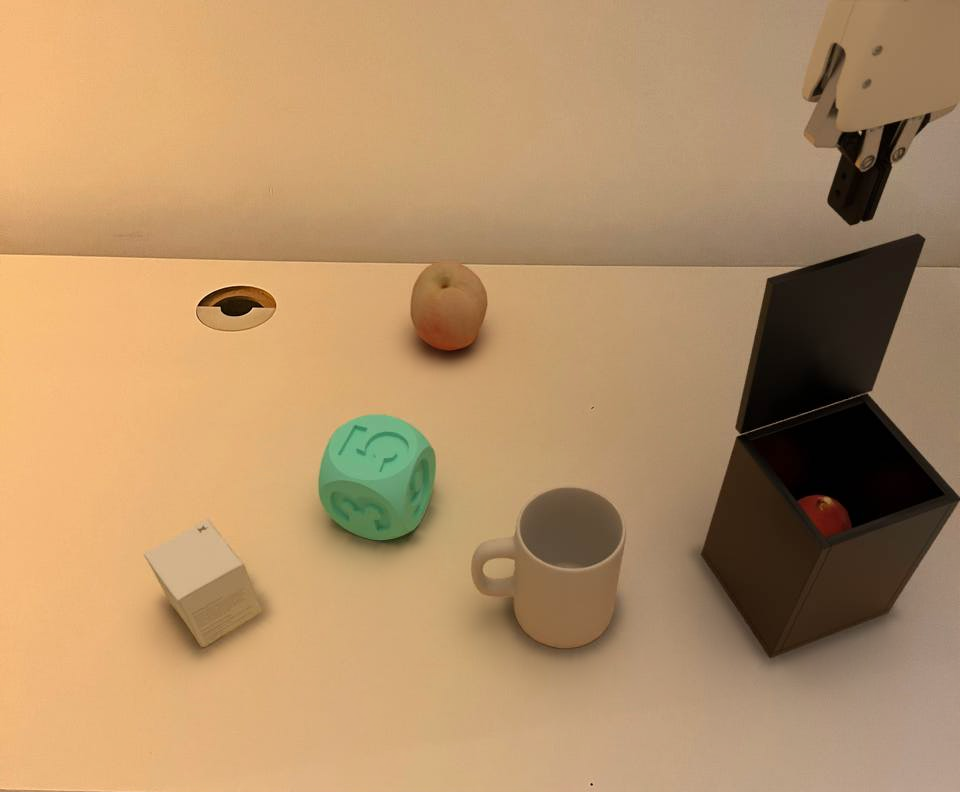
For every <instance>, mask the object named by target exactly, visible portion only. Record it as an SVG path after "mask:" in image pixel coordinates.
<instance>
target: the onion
mask: <svg viewBox="0 0 960 792" xmlns="http://www.w3.org/2000/svg"><path fill="white" fill-rule="evenodd" d="M797 502H798V503H799V504H800V506H801V507H802V508H803V510H804V511H805V512H806V514H807V515H808V516H809V518H810V519H811V520H812V521H813V523H814V524H815V525H816V527H817V528H818V529H819V531H820V532H821V533H822V535H823V536H824V537H825V538H826V537H829V536H832V535H835V534H837V533H840V532H843V531H846V530H849V529H851V528H852V524H851V521H850V518H849V515H848V512H847V510H846V509H845V508H844V507H843V506H842V505H841V504H840V503H839V502H838V501H837V500H835V499H833V498H830V497H828V496H823V495H812V496H806V497H804V498H802V499H800V500H798V501H797Z"/></svg>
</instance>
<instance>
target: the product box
mask: <svg viewBox="0 0 960 792" xmlns="http://www.w3.org/2000/svg"><path fill="white" fill-rule="evenodd" d="M143 556H144V559H145V560H146V561H147V563H148V565H149V567H150V568H151V570H152V572H153V574H154V576H155V577H156V579H157V581H158V584H159V585H160V587H161V589H162V590H163V593H164V595H165V596H166V598H167V600H168V602H169V604H170V605H171V606H172V608H173V609H174V610H175V611H176V612H177V614H178V615H179V616H180V618H181V619H182V621H183V622H184V623H185V625H186V626H187V627H188V629H189V630H190V632H191V633H192V635H193V637H194V639H195V641H197V643H198V645H199V646H200V648H206V647H207V646H210V645H211V644H212V643H214V642H216V641H217V640H219V639H221V638H222V637H224V636H225V635H227V634H228V633H230V632H232V631H233V630H235V629H236V628H238V627H240V626H242V625H243V624H245V623H247V622H248V621H250V620H251V619H254V618H255V617H256V616H258V615H260V614H262V612H263V608H262V607H261V605H260V602H259V600H258V597H257V595H256V592H255V589H254V587H253V585H252V582H251V578H250V575H249V573H248V571H247V568H246V565H245V564H244V562H243V561H242V560H241V558H240V557H239V556H238V555H237V553H236V552H235V551H234V550H233V548H232V547H231V546H230V545H229V543H228V542H227V540H226V539H225V537H223V536H222V534H221V533H220V532H219V530H218V529H217V528H216V527H215V525H214V524H213V523H212V521H211V520H210V519H209V518H205V519H203V520H202V521H200V522H198V523H196V524H195V525H193V526H191V527H189V528H187V529H185V530H184V531H182V532H180V533H179V534H177V535H174V536H173V537H172V538H170V539H168V540H166V541H164V542H162V543H160V544H158V545H157V546H155V547H153V548H151V549H150V550H148V551H146V552H144V553H143Z"/></svg>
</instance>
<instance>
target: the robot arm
mask: <svg viewBox="0 0 960 792" xmlns="http://www.w3.org/2000/svg"><path fill="white" fill-rule="evenodd" d="M828 1H829V2H828V4H827V7H826V8H825V9H826V10H825V12H824V15H823V18H822V21H821V24H820V27H819V30H818V33H817V36H816V39H815V42H814V44H813V47H812V51H811V54H810V58H809V61H808V64H807V68H806V71H805V74H804V75H805V76H804V79H803V82H802V89H801V97H802V98H803V99H804V100H805V101H806V102H808V103H816V105H815V107H814V109H813V111H812V114H811V115H810V117H809V120H808V122H807V124H806V126H805V128H804V131H803V137H804V138H805V139H806V140H807V141H808V143H810V144H811V145H812V146H813V147H814V148H817V149H836V150H837V151H838V152H839V153H841V155H840V156H839V161H838V164H837V167H836V170H835V173H834V177H833V179H832V183H831V186H830V188H829V191H828V195H827V199H826V201H827V205H828V206H829V207H830V208H831V209H832V210H833V211H834V212H835V213H836V214H837V215H838V216H839V217H840V218H841V219H842V220H843V221H844V222H845V223H846V224H847V225H849V226H850V227H852V226H855V225H858V224H860V223H861V222H863V223H867V222H869V221H872V220H873V219H874V217H875V214H876V211H877V209H878V206H879V204H880V201H881V199H882V196H883V193H884V190H885V188H886V185H887V183H888V180H889V177H890V175H891V173H892V170H893V164H897V163H899V162H900V161H902V160H904V158H905V156H906V154H907V153H908V151H909V148H910V147H911V145H912V143H913V141H914V139H915V138H916V136H917V135H918V134H919V133H920V132H922V130H924V128H925V127H927V125H928V124H931V123H933V122H935V121H937V120H938V119H941V118H943V117H945V116H946V115H948V114H950V113H952V112H953V111H954V110H955V109H956V108H957V106H958V104H959V103H960V0H828ZM860 132H861V133H860Z"/></svg>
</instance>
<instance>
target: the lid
mask: <svg viewBox="0 0 960 792" xmlns="http://www.w3.org/2000/svg"><path fill="white" fill-rule="evenodd" d="M925 242H926V237H924V236H923V235H922V234H920V233H915V234H911V235H907V236H905V237H904V236H903V237H901V238H898V239H895V240H891V241H887V242H885V243H880V244H878V245H874V246H872V247H867V248H863V249H861V250H857V251H855V252H851V253H847V254H844V255H841V256H838V257H833V258H830V259H827V260H824V261H820V262H818V263H814V264H810V265H807V266H803V267H800V268H797V269H794V270H790V271H787V272H783V273H780V274H777V275H774V276H771V277H767V279H766V282H765V286H764V287H765V288H764V291H763V296H762V300H761V306H760V309H759V310H760V311H759V314H758V320H757V323H756V328H755V333H754V338H753V342H752V347H751V353H750V358H749V361H748V367H747V371H746V376H745V380H744V384H743V390H742V394H741V399H740V402H739V408H738V412H737V417H736V422H735V426H734V429H735V430H736V432H737V433H738V434H739V435H742V434H746V433H748V432H751V431H754V430H757V429H760V428H763V427H766V426H769V425H772V424H775V423H778V422H781V421H784V420H787V419H790V418H793V417H796V416H799V415H802V414H805V413H808V412H811V411H814V410H817V409H821V408H824V407H827V406H830V405H833V404H836V403H839V402H842V401H845V400H848V399H851V398H854V397H857V396H860V395H863V394H866V393H870V392H873V389H874V387H875V384H876V381H877V378H878V376H879V373H880V369H881V367H882V365H883V361H884V358H885V356H886V353H887V350H888V348H889V345H890V341H891V339H892V336H893V333H894V331H895V327H896V324H897V322H898V319H899V316H900V313H901V311H902V308H903V305H904V301H905V299H906V296H907V293H908V291H909V287H910V285H911V282H912V279H913V276H914V273H915V270H916V269H917V265H918V262H919V260H920V256H921V254H922V251H923V248H924V245H925Z"/></svg>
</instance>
